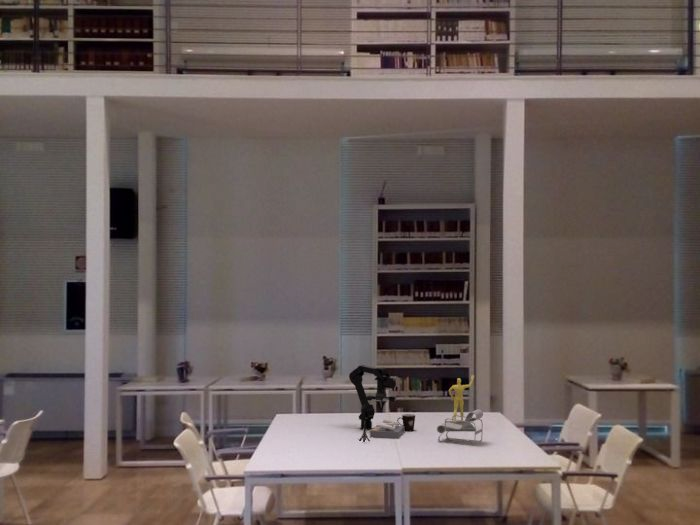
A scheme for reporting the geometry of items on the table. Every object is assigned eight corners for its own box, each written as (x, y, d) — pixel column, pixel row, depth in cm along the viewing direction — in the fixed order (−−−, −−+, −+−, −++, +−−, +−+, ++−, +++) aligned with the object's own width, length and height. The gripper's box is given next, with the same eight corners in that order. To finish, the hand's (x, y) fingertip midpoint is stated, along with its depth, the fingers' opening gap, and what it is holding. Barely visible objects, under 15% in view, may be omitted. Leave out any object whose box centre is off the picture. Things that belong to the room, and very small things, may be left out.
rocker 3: (381, 427, 508) (380, 425, 508) (382, 426, 512) (382, 424, 512) (396, 424, 506) (395, 422, 506) (397, 423, 509) (397, 421, 510)
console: (370, 437, 500) (370, 428, 500) (377, 431, 522) (377, 422, 522) (398, 438, 496) (398, 429, 496) (404, 432, 517) (404, 423, 517)
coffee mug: (415, 429, 528) (415, 414, 528) (415, 431, 519) (415, 416, 519) (397, 429, 529) (397, 413, 529) (397, 431, 520) (397, 416, 521)
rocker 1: (378, 426, 501) (378, 424, 501) (379, 425, 505) (380, 423, 505) (394, 429, 499) (394, 427, 499) (395, 428, 503) (395, 426, 503)
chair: (476, 446, 474) (476, 412, 475) (436, 442, 486) (436, 409, 486) (483, 442, 486) (483, 409, 487) (444, 438, 498) (444, 406, 498)
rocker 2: (382, 422, 515) (383, 420, 515) (384, 421, 519) (384, 419, 519) (398, 425, 512) (398, 423, 512) (399, 424, 516) (399, 422, 516)
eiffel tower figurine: (357, 439, 497) (357, 417, 498) (373, 439, 496) (373, 418, 496) (353, 443, 483) (353, 421, 483) (370, 444, 481) (370, 422, 481)
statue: (472, 426, 541) (471, 373, 542) (477, 431, 521) (477, 376, 522) (442, 426, 540) (441, 373, 541) (446, 431, 521) (446, 376, 522)
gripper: (364, 388, 515) (364, 412, 515) (393, 389, 511) (393, 413, 510) (368, 386, 526) (368, 410, 525) (396, 387, 521) (396, 411, 521)
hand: (381, 411), depth 520 cm, fingers closed
